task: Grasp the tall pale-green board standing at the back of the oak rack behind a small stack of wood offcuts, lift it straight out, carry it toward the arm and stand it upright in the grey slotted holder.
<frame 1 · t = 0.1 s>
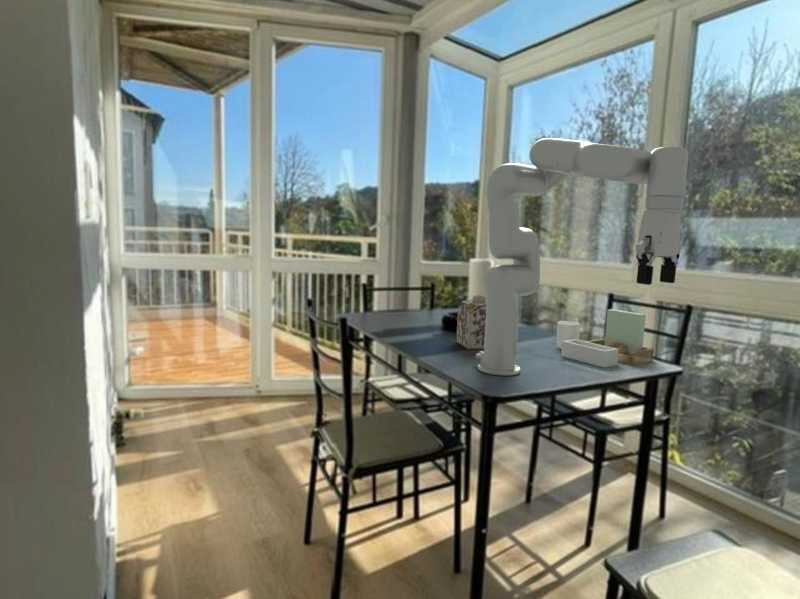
hand: (655, 283, 119), 31 cm above the table, tool pointing down, fingers open, 9 cm apart
holder: (588, 363, 173), on the table
white cup: (566, 351, 190), on the table
rack: (616, 359, 179), on the table
offcut short: (616, 349, 178), point 3 cm above the table, touching offcut long
offcut long: (613, 356, 179), point 1 cm above the table, touching offcut short, rack
decorative jar: (476, 345, 192), on the table
tall sheet: (622, 355, 180), point 1 cm above the table, touching rack
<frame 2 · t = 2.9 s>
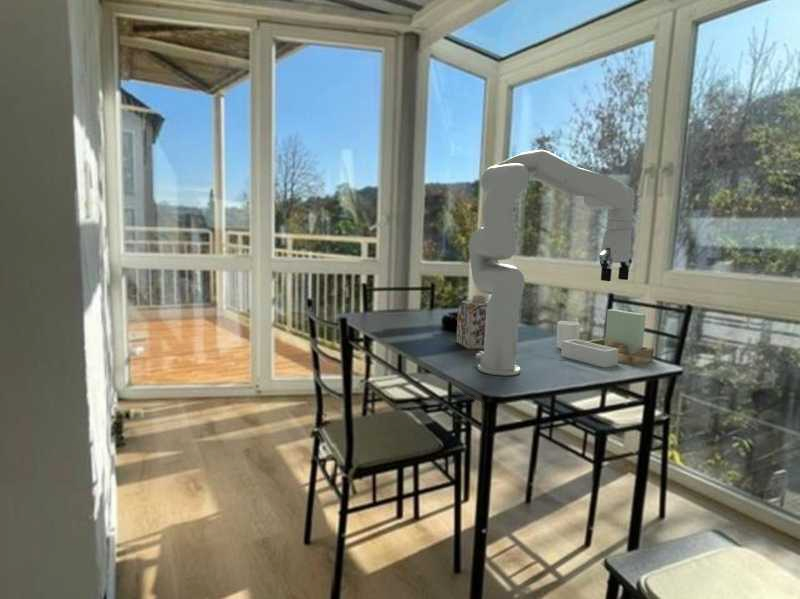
hand: (614, 280, 173), 27 cm above the table, tool pointing down, fingers open, 9 cm apart
nothing on the table moved.
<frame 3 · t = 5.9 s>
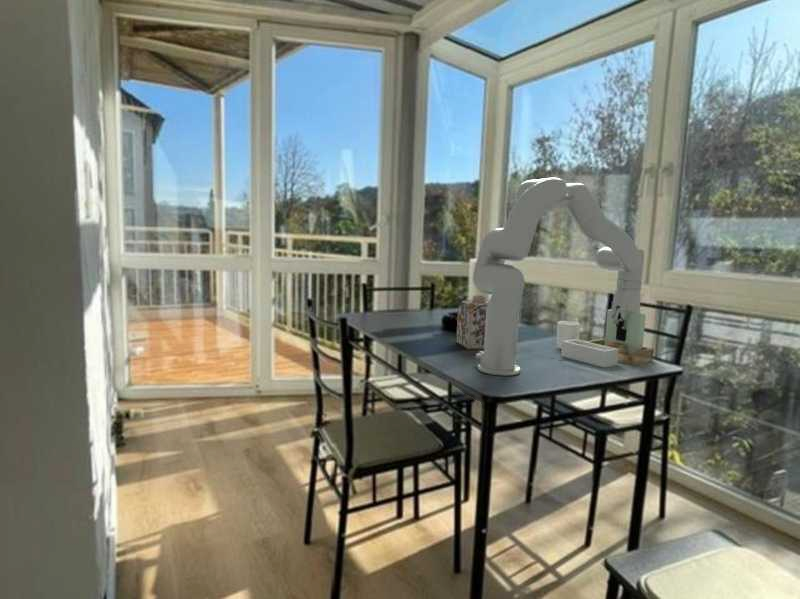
hand: (623, 339, 179), 7 cm above the table, tool pointing down, fingers closed on tall sheet, 3 cm apart
tall sheet: (622, 355, 180), point 1 cm above the table, touching gripper, rack
everything else where it was.
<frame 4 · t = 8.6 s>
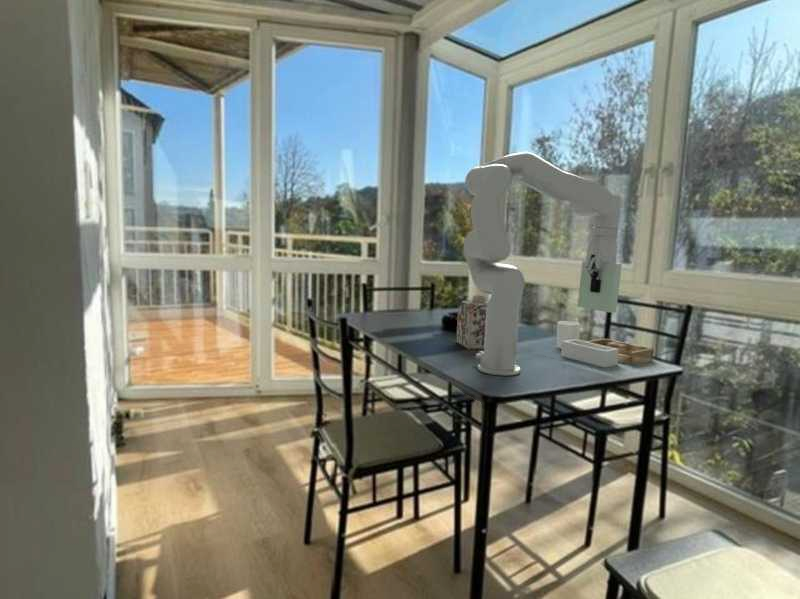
hand: (598, 291, 170), 23 cm above the table, tool pointing down, fingers closed on tall sheet, 3 cm apart
tall sheet: (596, 309, 171), point 18 cm above the table, touching gripper
everything else where it was.
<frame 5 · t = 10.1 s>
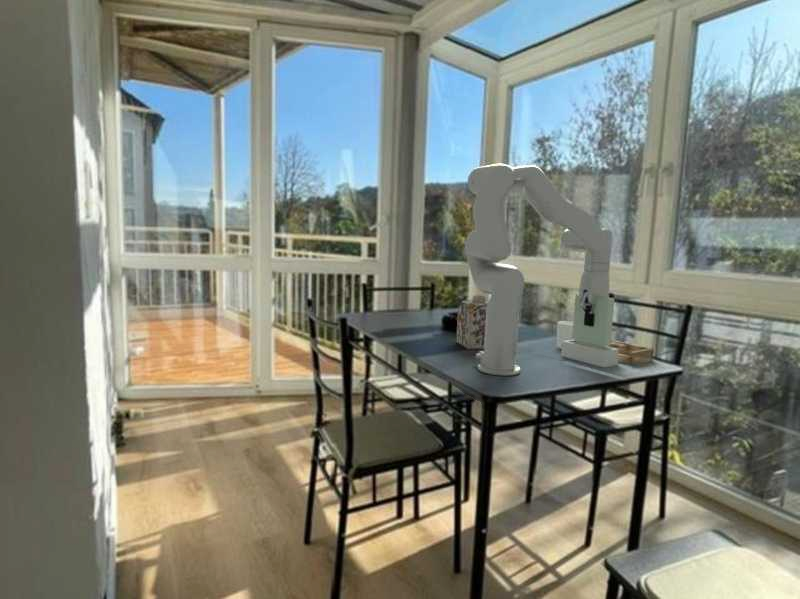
hand: (592, 324, 171), 13 cm above the table, tool pointing down, fingers closed on tall sheet, 3 cm apart
tall sheet: (590, 342, 172), point 7 cm above the table, touching gripper
everything else where it was.
when the fingers open (8 cm above the table, at t = 11.3 s): tall sheet stays where it is, resting on holder.
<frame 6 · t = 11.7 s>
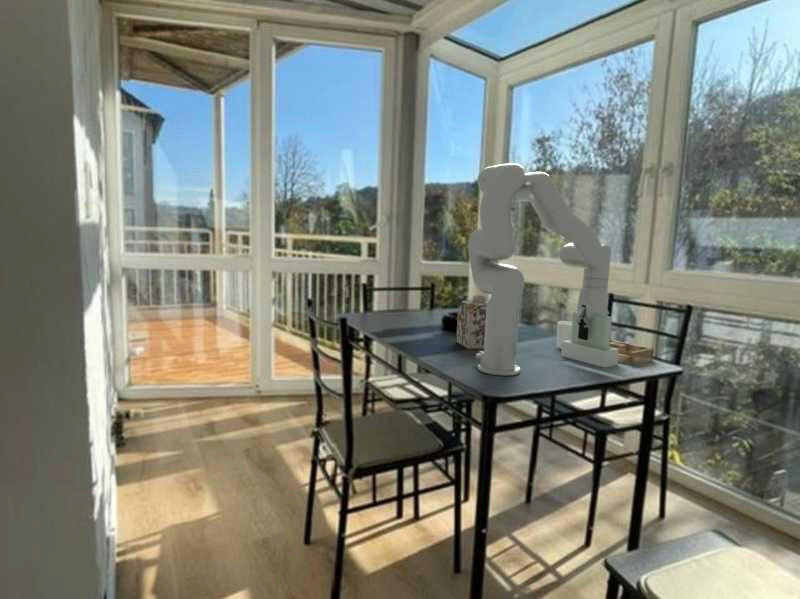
hand: (590, 337, 171), 8 cm above the table, tool pointing down, fingers open, 7 cm apart
tall sheet: (588, 360, 172), point 1 cm above the table, touching holder
everything else where it was.
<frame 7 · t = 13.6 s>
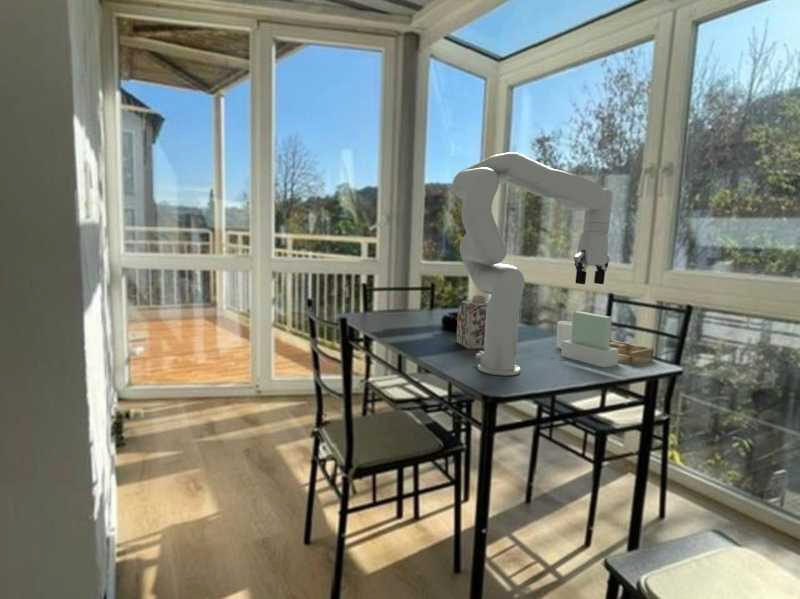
hand: (589, 283, 168), 26 cm above the table, tool pointing down, fingers open, 9 cm apart
nothing on the table moved.
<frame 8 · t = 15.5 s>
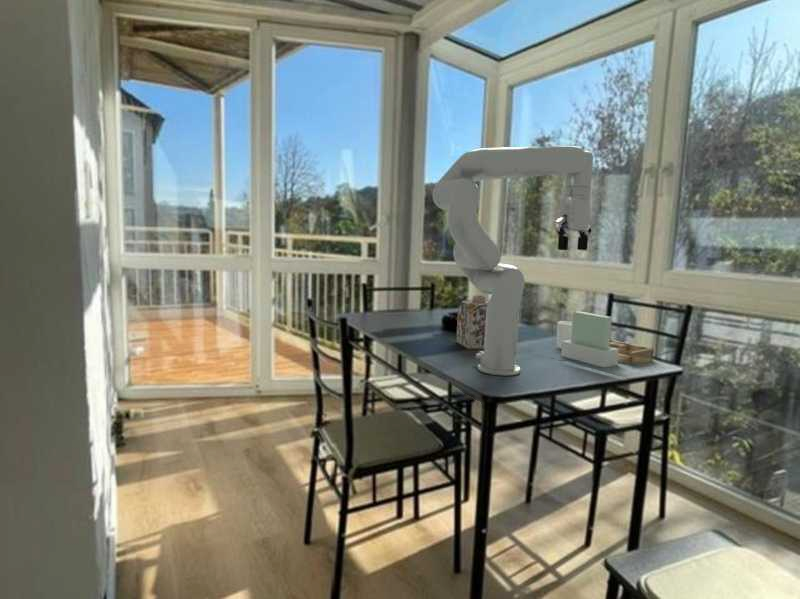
hand: (572, 249, 165), 36 cm above the table, tool pointing down, fingers open, 9 cm apart
nothing on the table moved.
at the end: tall sheet 0.2 cm off-centre on the holder, point 1.0 cm above the holder's base; tall sheet tilted 0°; the gripper is holding nothing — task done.
